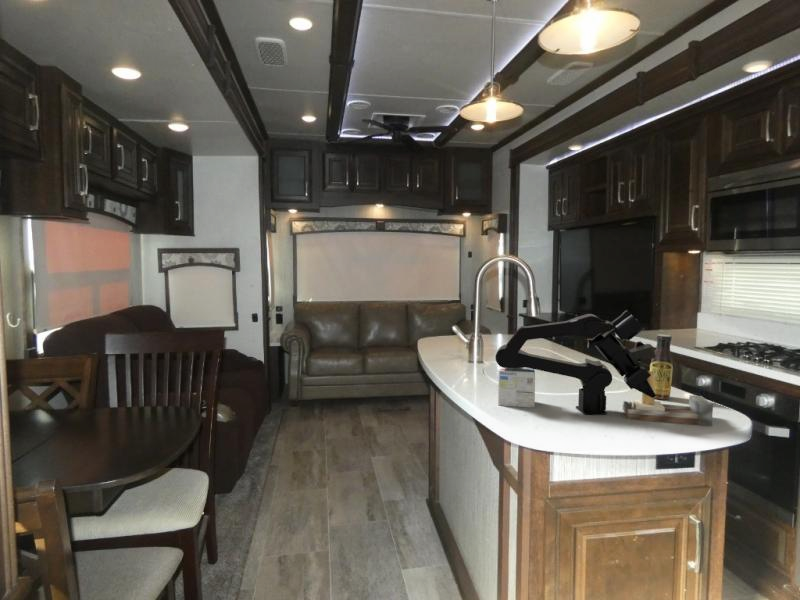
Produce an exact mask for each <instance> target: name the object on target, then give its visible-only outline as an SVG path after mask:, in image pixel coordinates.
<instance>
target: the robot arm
mask: <svg viewBox="0 0 800 600" xmlns="http://www.w3.org/2000/svg"><path fill="white" fill-rule="evenodd" d="M645 329H646V328H645V326H644V325H643V323H642V322H640V320H639V319H637V318H636V317H635V316H634V315H632V313H631V312H630V311H629V310H624V311H623V312H622V313H621V315H619V316H618V317H617V318H615V319H614V320H612V321H609V320H603V319H600V318H599V317H598V316H596V315H595V314H593V313H587V314H584V315H583V314H582V315H580V316H576V317H574V318H571V319H568V320H565V321H557V322H550V323H543V324H534V325H533V324H532V325H527V326H526V325H522V326H519V327H518V328H517V330H516V331H515V333H514V335H513V336H512V337H511V338H510V339H509V341H508V342H507V343H506V344H503V345H501V346H499V347H498V349H497V350H496V351H497V352H496V354H495V361H496V363H497V365H498V366H499V367H500V366H501V367H503V368H531V369H534V370H535V371H540V372H541V371H542V372H545V373H551V374H554V375H555V374H556V375H559V376H565V377H571V378H575V379H578V380H580V384H581V386H582V388H578V402H577V403H578V405H576V406H575V409H576V410H578V411H579V412H581V414H582V413H583V414H584V415H607V414H608V412H607V411H606V409H607V395H606V390H605V389H606V388H607V387H609V386H610V385H611V384H612V382H613V375H612V373H611V371H610V370H609V368H608V367H607V366H606V365H605V364H603V363H602V362H601V361H600V360H592V359H588V358H585V359H584V362H580V363H577V362H571V361H566V360H562V359H559V358H552V357H548V356H541V355H539V354H538V355H537V354H531V353H528V352H527V351H525V350H522V348H523V346H524V345H525V344H526V342H527V341H529V340H537V339H545V338H554V337H562V336H575V337H576V336H577V337H589V338H587V339H586V340H587V345H586V346H587V349H588V350H592V349H593V348H596V349H597V350H598V351H599V353H601V354H602V356H603V357H604V358H605V359H606V360H607V361H608V362H609V363H608V364H610V365H611V366H612V367H613V368H614V369H615V370H616V372H617V373H618V374H619V375H620V376H621V377H623V381H624V383H625V384H626V385H627V386H628V388H629V389H630V390H633V389H634V390H635V391H638V392H640V393H644V394H646V395H648V396H650V397H652V398H654V397H655V396H656V395H655V393H654V391H653V390H652V388H651V386H650V384H649V383H648V381H647V378H649V377H650V376H651V374H650V373H649V372H648V371H649V370H647V368H646V367H644V366H643V365H641V362H643V361H647V360H649V359H650V360H651V359H653V358H655V357H656V354H655V349H654V347H653V345H652V344H651V343H645V344H644V343H643V342H642V341H641V340H640V341H636V342H634V347H632V348H630V349H628V347H626V346H624V345H623V343H621V341H622V342H623V341H628V342H629V341H630V340H632V339H633V338H635V337H636V336H637V335H639V334H640V333H641V332H643V331H644V330H645ZM602 333H603V334H602ZM613 333H614V334H615V335H616V336H617V337H618V338H619V339H620V340H621V341H619V339H617V337H616V336H615V335H614V334H613ZM591 337H593V338H591ZM654 399H655V398H654Z"/></svg>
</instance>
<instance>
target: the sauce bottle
mask: <svg viewBox="0 0 800 600" xmlns="http://www.w3.org/2000/svg"><path fill="white" fill-rule="evenodd" d="M671 341H672V335H670V334H660V333H659V334H657V335H656V346H655V347H656V348H655V349H654V351H655V354H656V357H655V358H653V359H651V358H650V360H651V361H650V364H649V371H652V372H655V373H656V375H655V395H656V396H655V397H654V400H655V399H657V400H668V399H670V397H671V393H672V381H673V372H674V371H673V370H674V369H673V367H674V365H673V364H674V355H673V354H672V351H671Z"/></svg>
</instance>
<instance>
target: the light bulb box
mask: <svg viewBox="0 0 800 600" xmlns="http://www.w3.org/2000/svg"><path fill="white" fill-rule="evenodd" d="M535 371H536V370H535V369H531V368H503V367H501V366H499V367H498V377H497V378H498V383H497V385H498V387H497V391H498V395H497V396H498V397H497V399H498V404H497V405H498V406H501V405H502V406H504V407H516V406H518V407H519V408H531V407H533V409H534V408H535V402H536V372H535ZM502 406H501V407H502Z"/></svg>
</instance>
